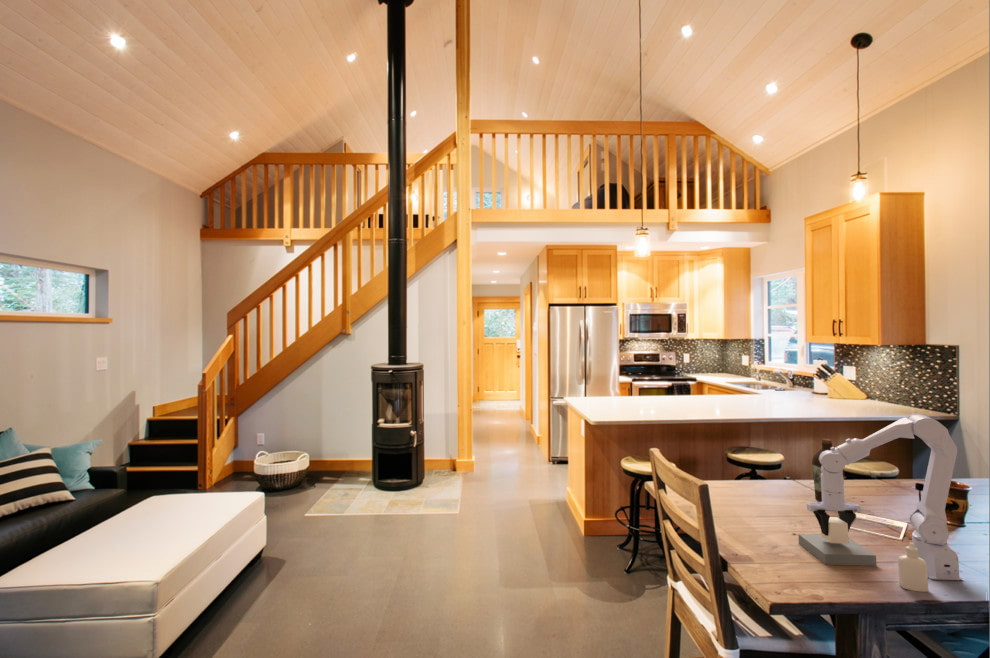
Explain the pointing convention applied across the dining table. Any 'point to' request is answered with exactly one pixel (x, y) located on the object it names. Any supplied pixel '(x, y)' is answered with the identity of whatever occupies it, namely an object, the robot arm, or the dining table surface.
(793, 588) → the dining table surface
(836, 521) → the cream block
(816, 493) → the olive oil
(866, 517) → the photo frame
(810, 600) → the dining table surface
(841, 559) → the base plinth
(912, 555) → the eye dropper bottle
